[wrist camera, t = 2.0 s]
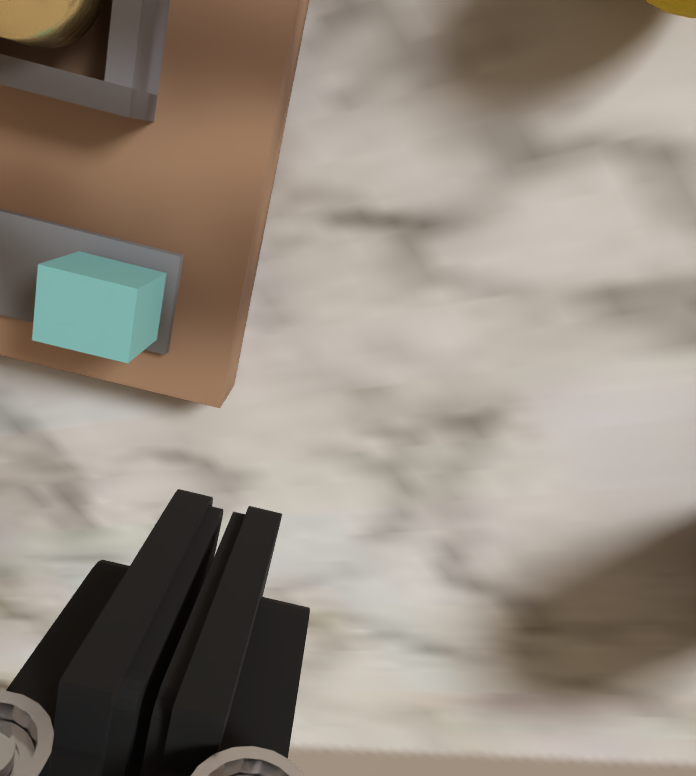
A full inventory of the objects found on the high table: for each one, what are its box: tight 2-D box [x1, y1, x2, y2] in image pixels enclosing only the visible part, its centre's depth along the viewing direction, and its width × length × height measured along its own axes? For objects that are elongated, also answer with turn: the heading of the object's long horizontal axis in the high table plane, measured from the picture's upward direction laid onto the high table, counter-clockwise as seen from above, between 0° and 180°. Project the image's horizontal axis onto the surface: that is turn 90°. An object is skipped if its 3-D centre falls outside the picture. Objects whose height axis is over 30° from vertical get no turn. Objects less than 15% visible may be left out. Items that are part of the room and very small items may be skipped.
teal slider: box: [32, 251, 167, 363], centre depth 21 cm, size 2×3×3 cm
